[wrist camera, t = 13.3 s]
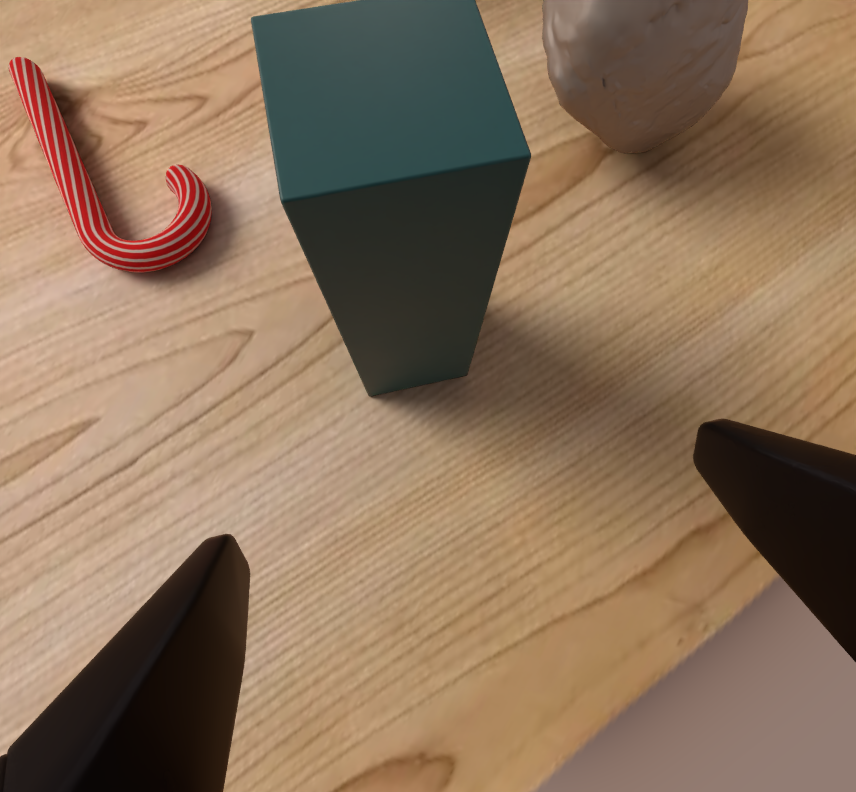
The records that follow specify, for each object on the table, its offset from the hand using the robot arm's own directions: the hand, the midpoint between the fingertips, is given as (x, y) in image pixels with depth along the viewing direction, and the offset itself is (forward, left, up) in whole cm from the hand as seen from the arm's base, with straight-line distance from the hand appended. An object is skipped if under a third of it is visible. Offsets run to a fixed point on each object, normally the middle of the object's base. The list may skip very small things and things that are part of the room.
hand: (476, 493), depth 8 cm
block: (+6, -5, -10) cm, 12 cm away
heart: (+6, -21, -10) cm, 24 cm away
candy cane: (+24, -3, -10) cm, 26 cm away
